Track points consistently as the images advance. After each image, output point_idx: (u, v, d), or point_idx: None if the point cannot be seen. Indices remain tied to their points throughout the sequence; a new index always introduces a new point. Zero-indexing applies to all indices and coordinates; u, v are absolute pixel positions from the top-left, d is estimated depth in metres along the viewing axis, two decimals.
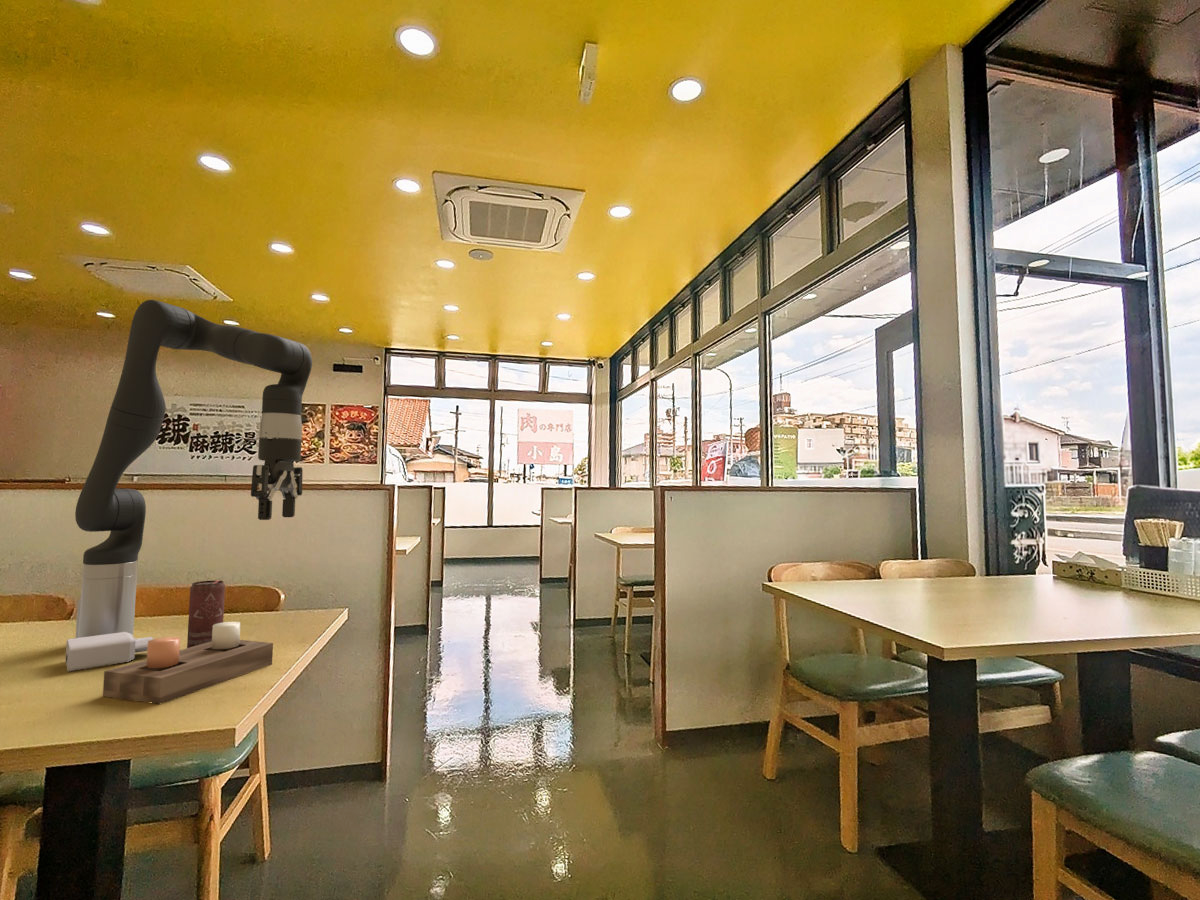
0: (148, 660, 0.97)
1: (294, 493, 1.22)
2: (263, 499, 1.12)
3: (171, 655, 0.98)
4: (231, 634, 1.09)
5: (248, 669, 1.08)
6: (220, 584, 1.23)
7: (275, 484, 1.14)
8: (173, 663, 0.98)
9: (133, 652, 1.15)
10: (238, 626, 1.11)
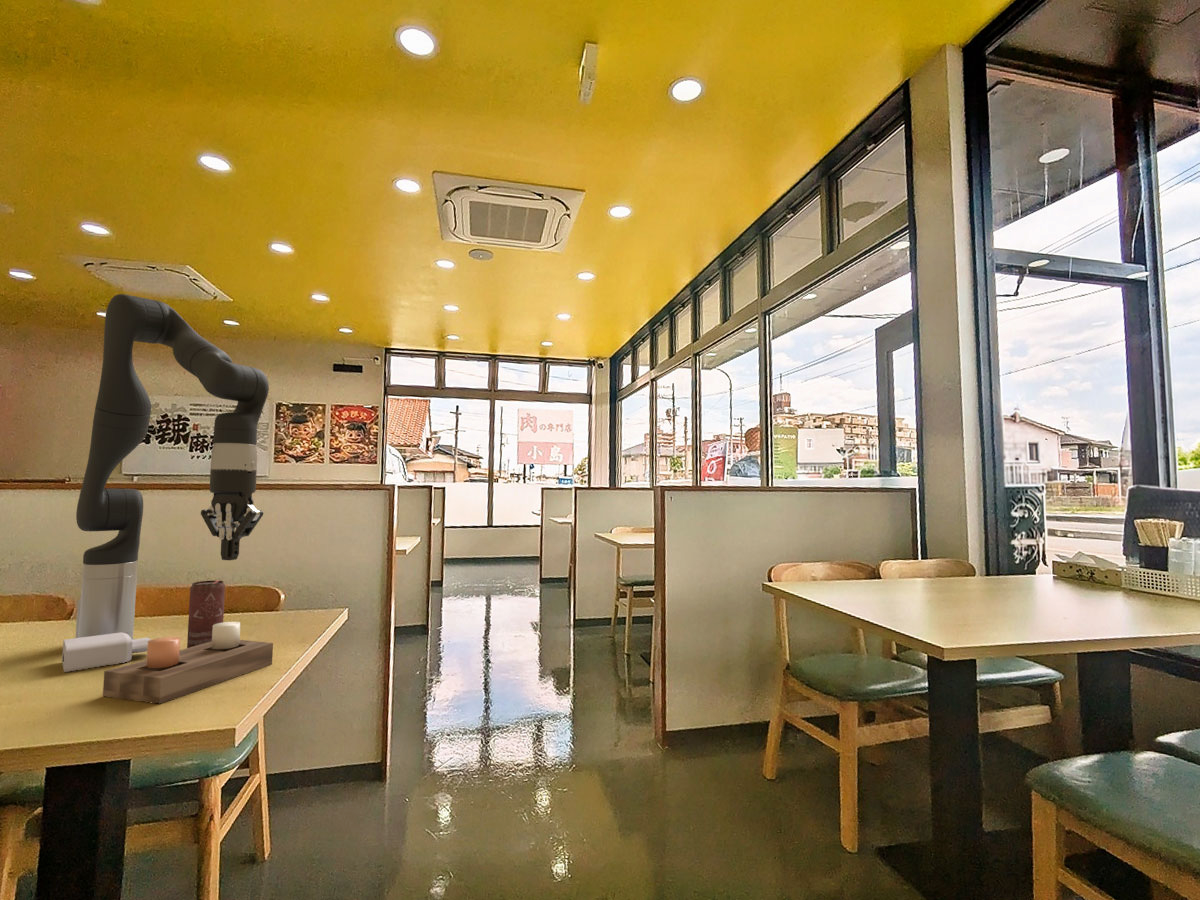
0: (148, 660, 0.97)
1: None
2: (238, 539, 1.12)
3: (171, 655, 0.98)
4: (231, 634, 1.09)
5: (248, 669, 1.08)
6: (220, 584, 1.23)
7: None
8: (173, 663, 0.98)
9: (130, 653, 1.14)
10: (238, 626, 1.11)
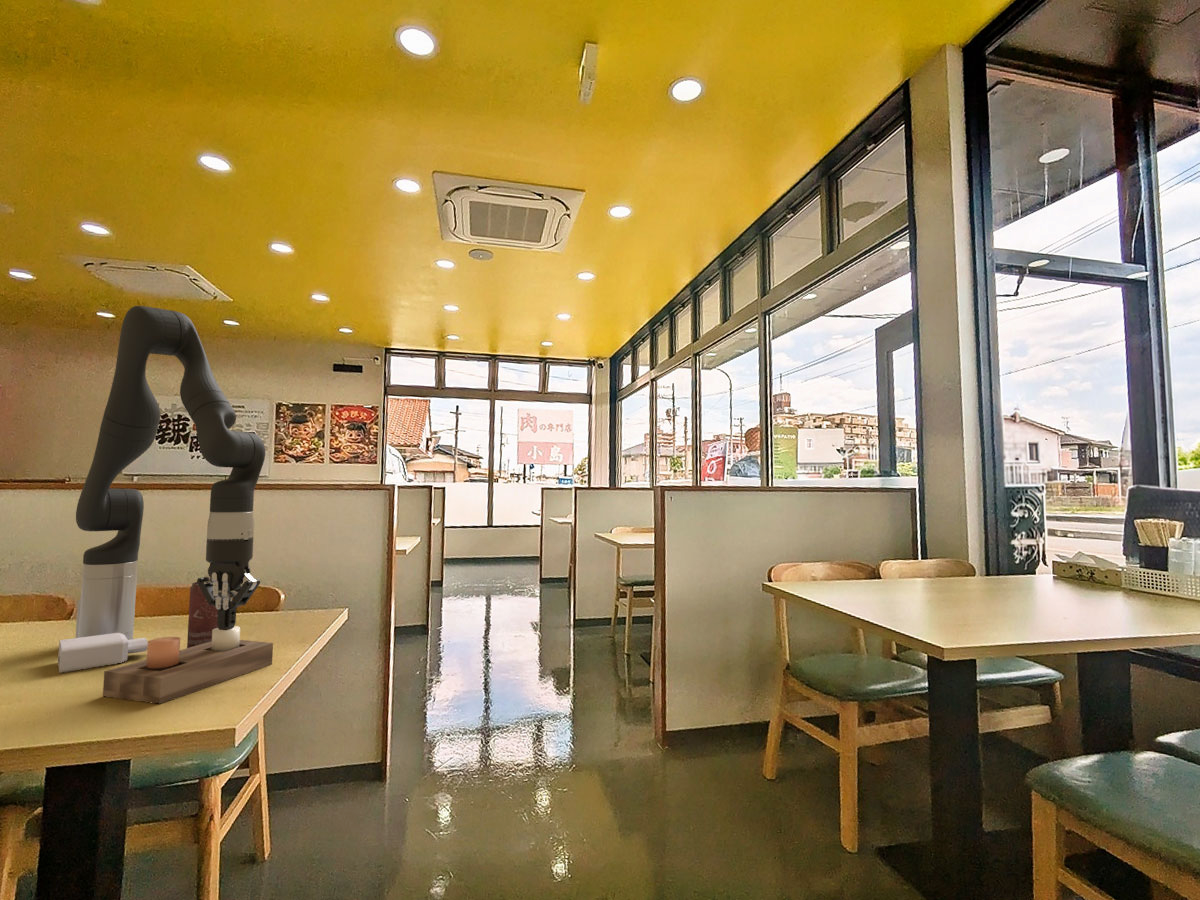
0: (148, 660, 0.97)
1: None
2: (235, 608, 1.11)
3: (171, 655, 0.98)
4: (230, 639, 1.09)
5: (248, 669, 1.08)
6: None
7: None
8: (173, 663, 0.98)
9: (126, 653, 1.14)
10: (238, 631, 1.11)
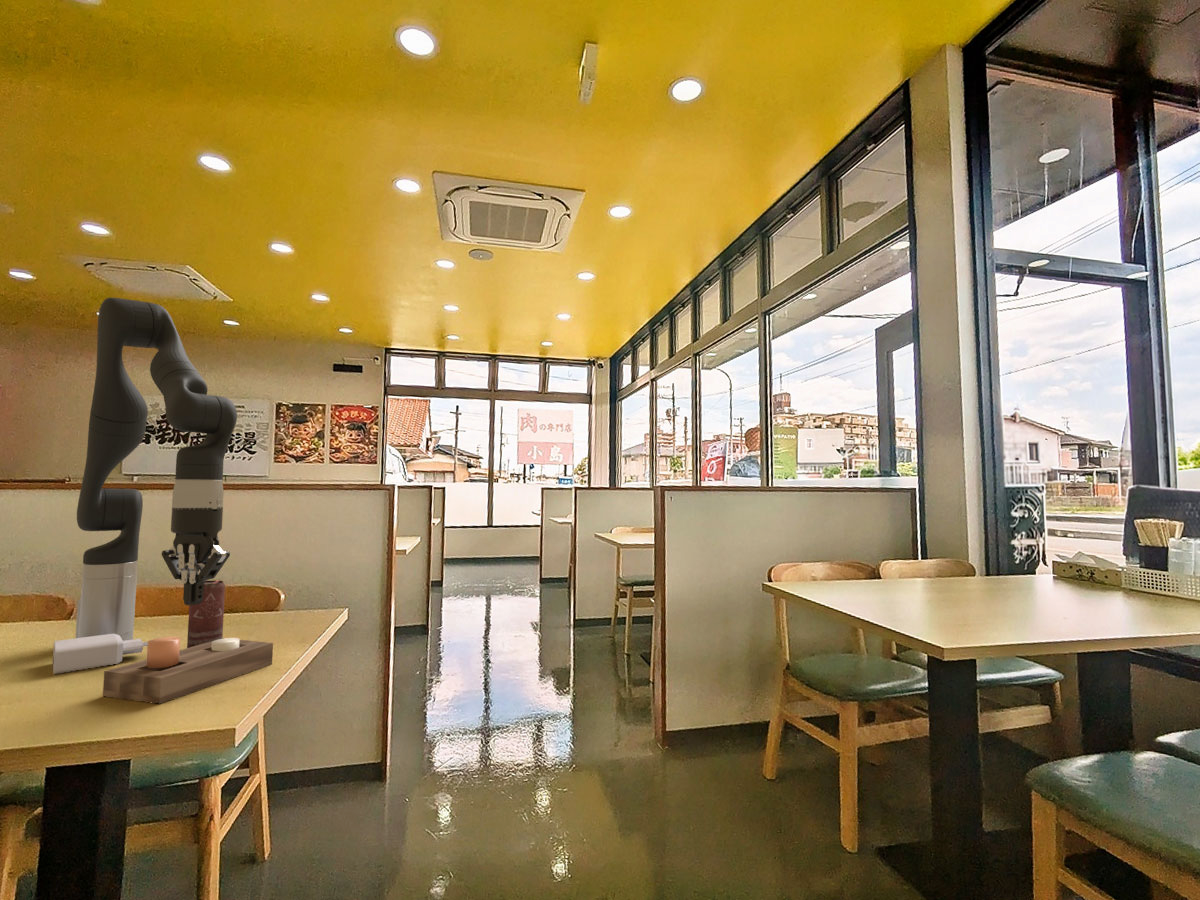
0: (148, 660, 0.97)
1: None
2: (203, 582, 1.04)
3: (171, 655, 0.98)
4: None
5: (248, 669, 1.08)
6: (220, 584, 1.23)
7: None
8: (173, 663, 0.98)
9: (121, 654, 1.13)
10: (237, 642, 1.11)
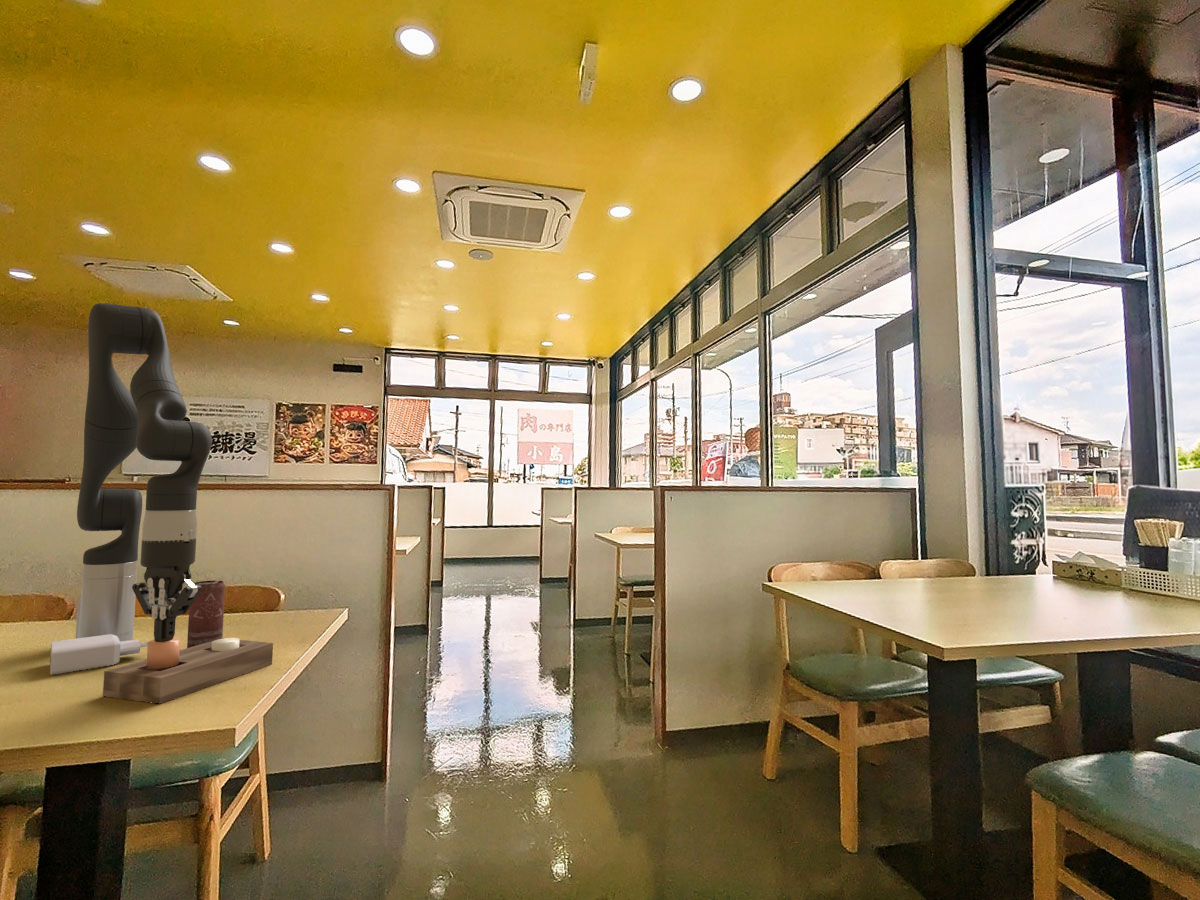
0: (148, 661, 0.97)
1: None
2: (174, 617, 0.99)
3: (171, 656, 0.98)
4: None
5: (248, 669, 1.08)
6: (220, 584, 1.23)
7: None
8: (173, 664, 0.98)
9: (118, 655, 1.12)
10: (237, 642, 1.11)
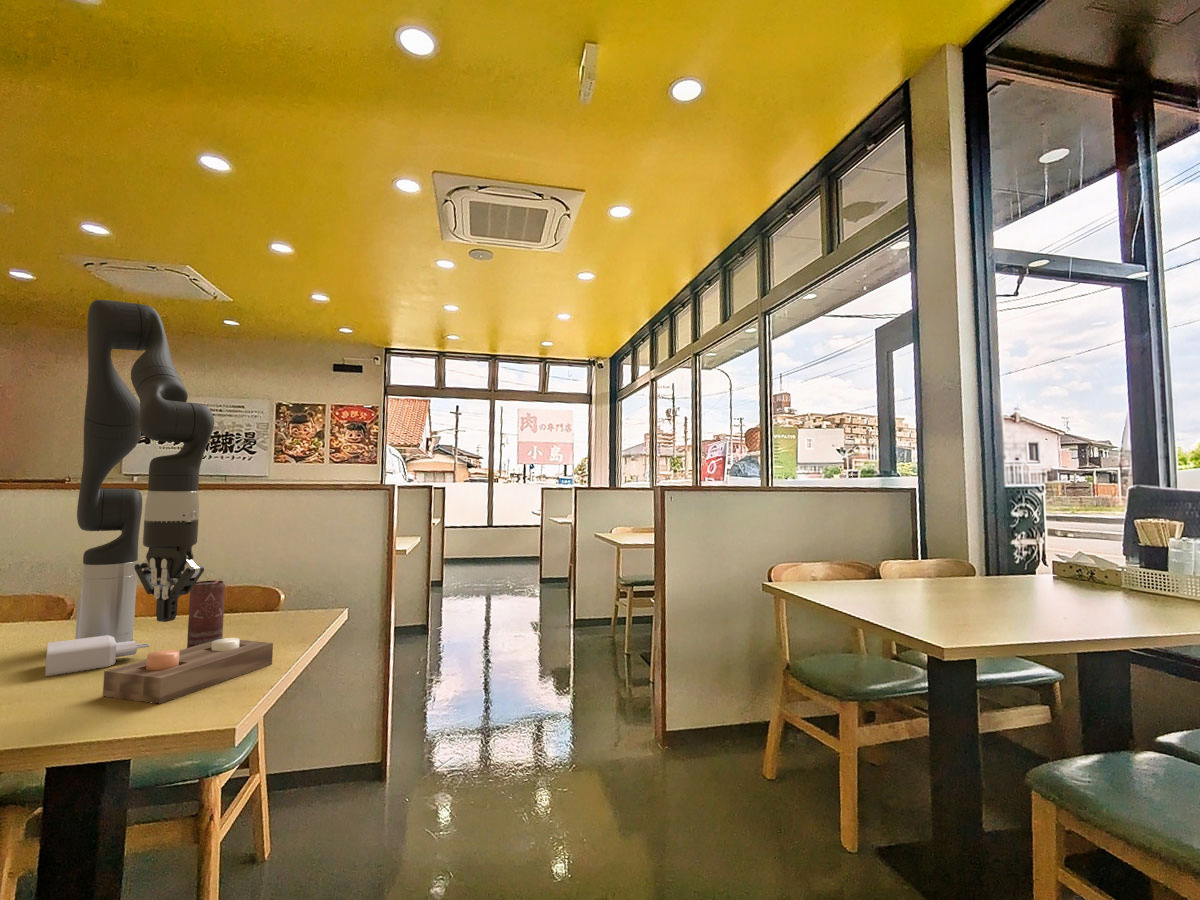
0: None
1: None
2: (176, 597, 1.00)
3: None
4: None
5: (248, 669, 1.08)
6: (220, 584, 1.23)
7: None
8: None
9: (114, 657, 1.11)
10: (237, 642, 1.11)
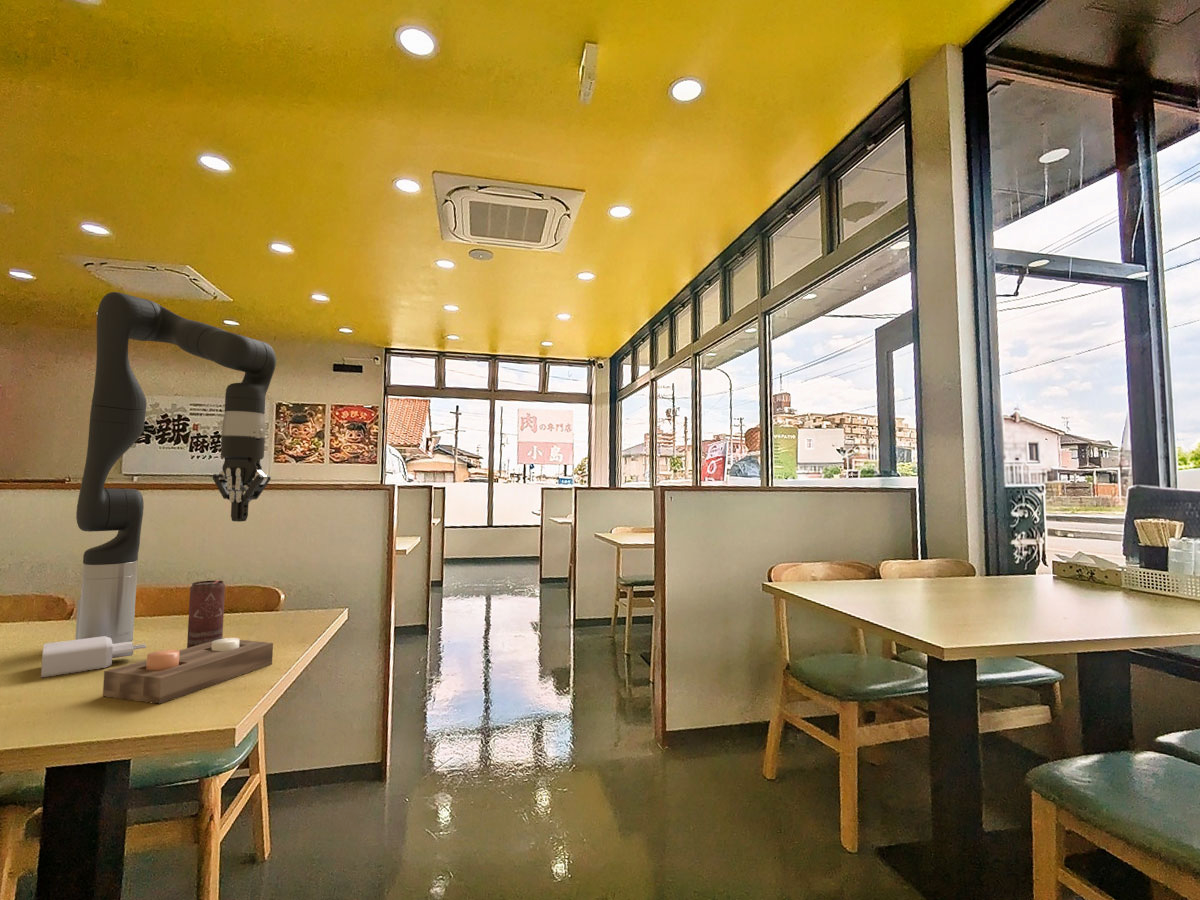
0: None
1: None
2: (247, 501, 1.19)
3: None
4: None
5: (248, 669, 1.08)
6: (220, 584, 1.23)
7: None
8: None
9: (110, 658, 1.11)
10: (237, 642, 1.11)
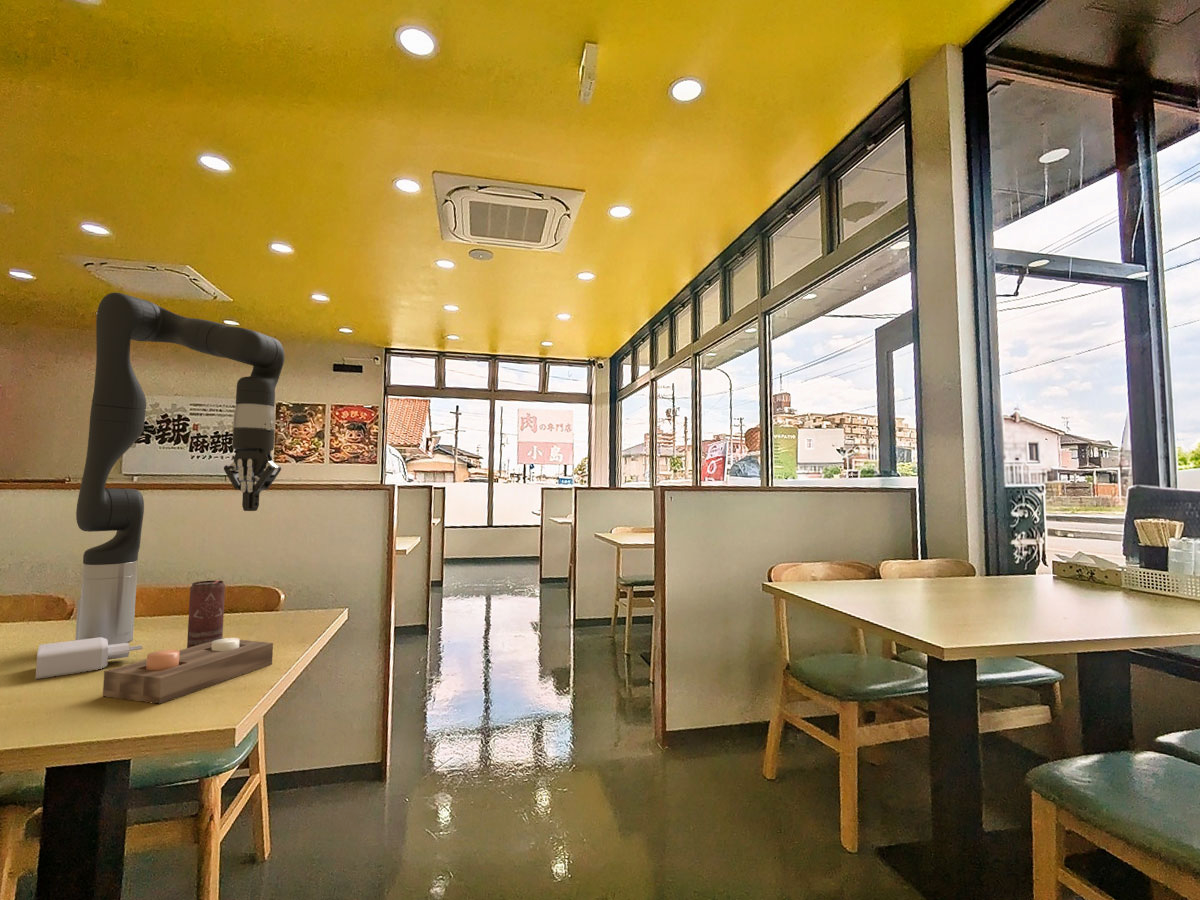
0: None
1: None
2: (258, 492, 1.22)
3: None
4: None
5: (248, 669, 1.08)
6: (220, 584, 1.23)
7: None
8: None
9: (105, 659, 1.10)
10: (237, 642, 1.11)
